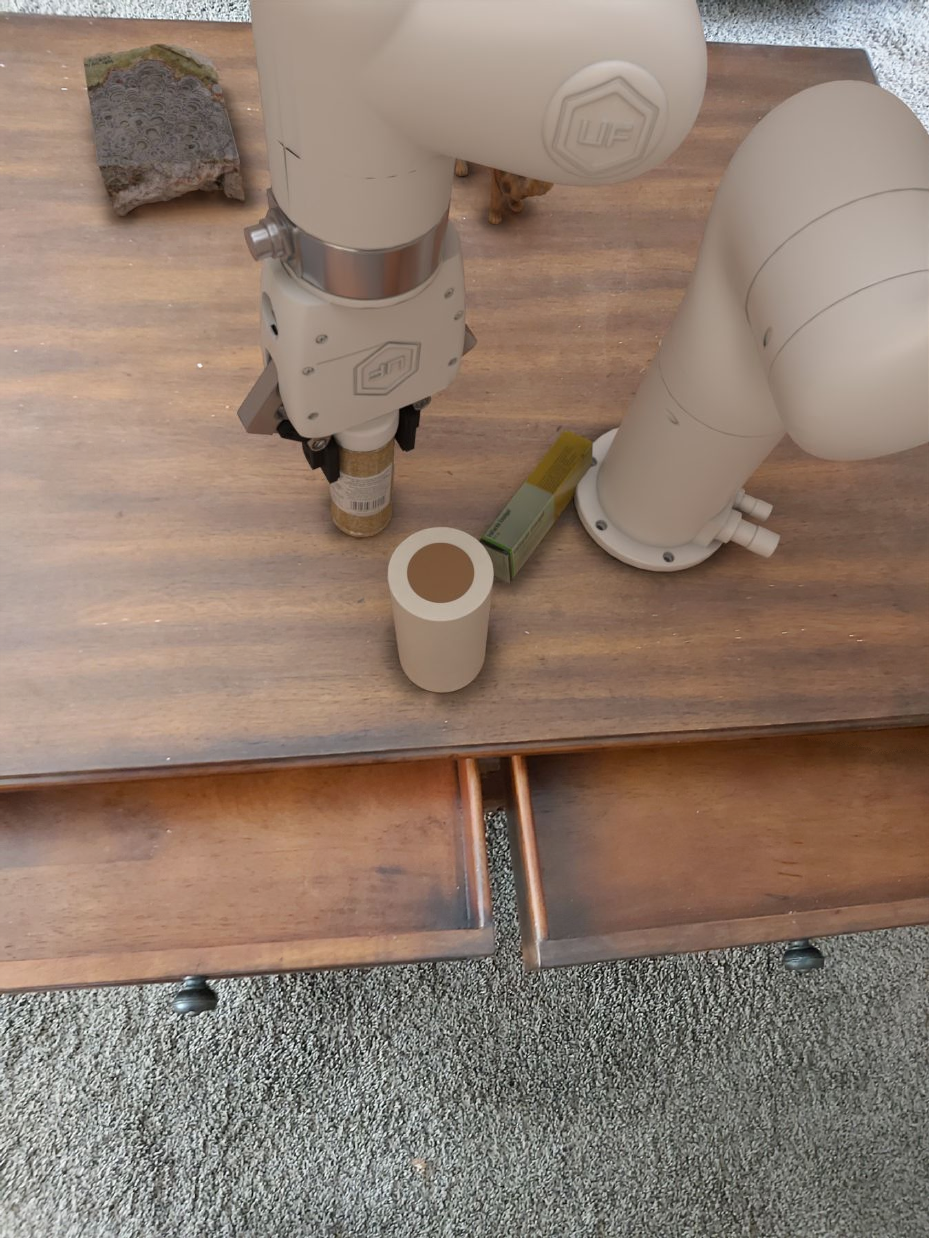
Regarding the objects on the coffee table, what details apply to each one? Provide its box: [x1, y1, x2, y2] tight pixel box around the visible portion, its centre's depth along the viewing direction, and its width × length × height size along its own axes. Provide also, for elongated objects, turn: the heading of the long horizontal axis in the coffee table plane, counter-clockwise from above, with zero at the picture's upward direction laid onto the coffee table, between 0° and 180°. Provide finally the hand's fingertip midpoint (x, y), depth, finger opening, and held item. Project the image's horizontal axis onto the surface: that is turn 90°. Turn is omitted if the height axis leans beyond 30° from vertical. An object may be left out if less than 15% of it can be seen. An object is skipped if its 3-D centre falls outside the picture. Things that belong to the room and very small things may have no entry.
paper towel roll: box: [387, 526, 495, 693], centre depth 52 cm, size 6×6×12 cm
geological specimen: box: [82, 43, 246, 217], centre depth 70 cm, size 11×6×15 cm
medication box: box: [478, 429, 593, 584], centre depth 62 cm, size 12×3×4 cm, turn 146°
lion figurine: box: [454, 158, 555, 225], centre depth 71 cm, size 15×5×9 cm, turn 35°
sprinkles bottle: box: [329, 409, 399, 538], centre depth 55 cm, size 5×5×13 cm
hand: (361, 447), depth 53 cm, fingers closed on sprinkles bottle, 4 cm apart
